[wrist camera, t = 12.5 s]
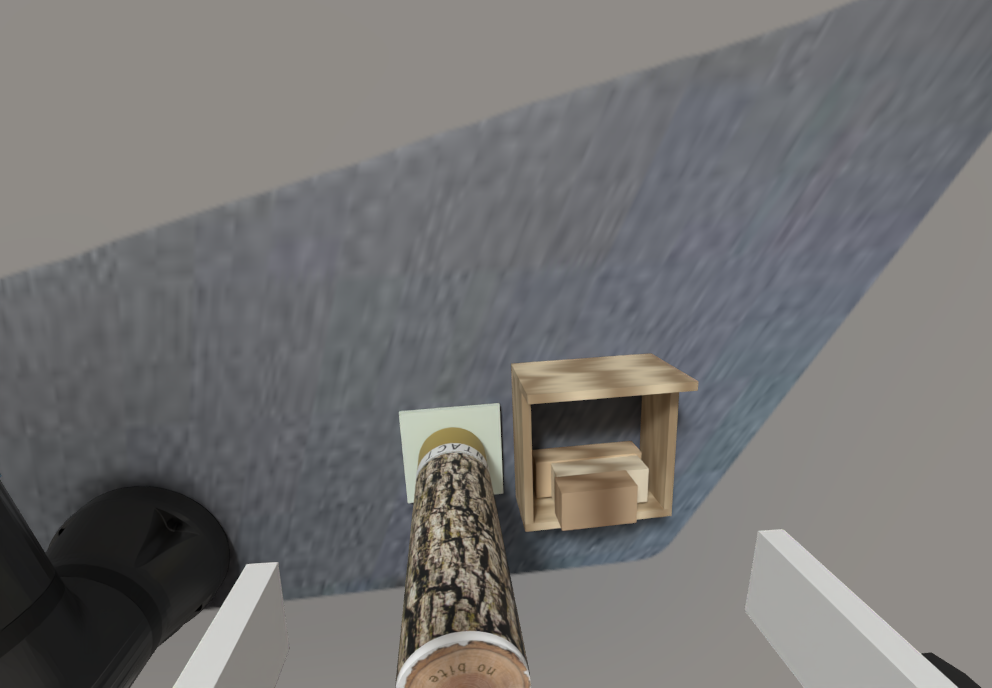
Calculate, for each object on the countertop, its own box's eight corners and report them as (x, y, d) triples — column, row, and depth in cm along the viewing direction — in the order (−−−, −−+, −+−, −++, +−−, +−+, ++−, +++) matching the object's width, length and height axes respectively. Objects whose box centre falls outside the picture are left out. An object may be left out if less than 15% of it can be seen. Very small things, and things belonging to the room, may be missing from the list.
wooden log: (478, 488, 48) (516, 749, 24) (413, 481, 47) (384, 747, 23) (490, 428, 46) (544, 643, 22) (424, 420, 45) (405, 635, 21)
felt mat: (408, 499, 48) (407, 503, 47) (399, 411, 46) (398, 413, 45) (502, 490, 49) (503, 493, 48) (498, 403, 47) (499, 405, 46)
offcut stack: (531, 483, 49) (549, 533, 41) (530, 449, 48) (548, 494, 40) (629, 473, 50) (665, 520, 42) (630, 440, 49) (667, 481, 41)
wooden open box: (515, 496, 49) (531, 553, 41) (511, 363, 46) (527, 395, 37) (645, 483, 51) (687, 535, 42) (651, 353, 47) (698, 381, 38)
